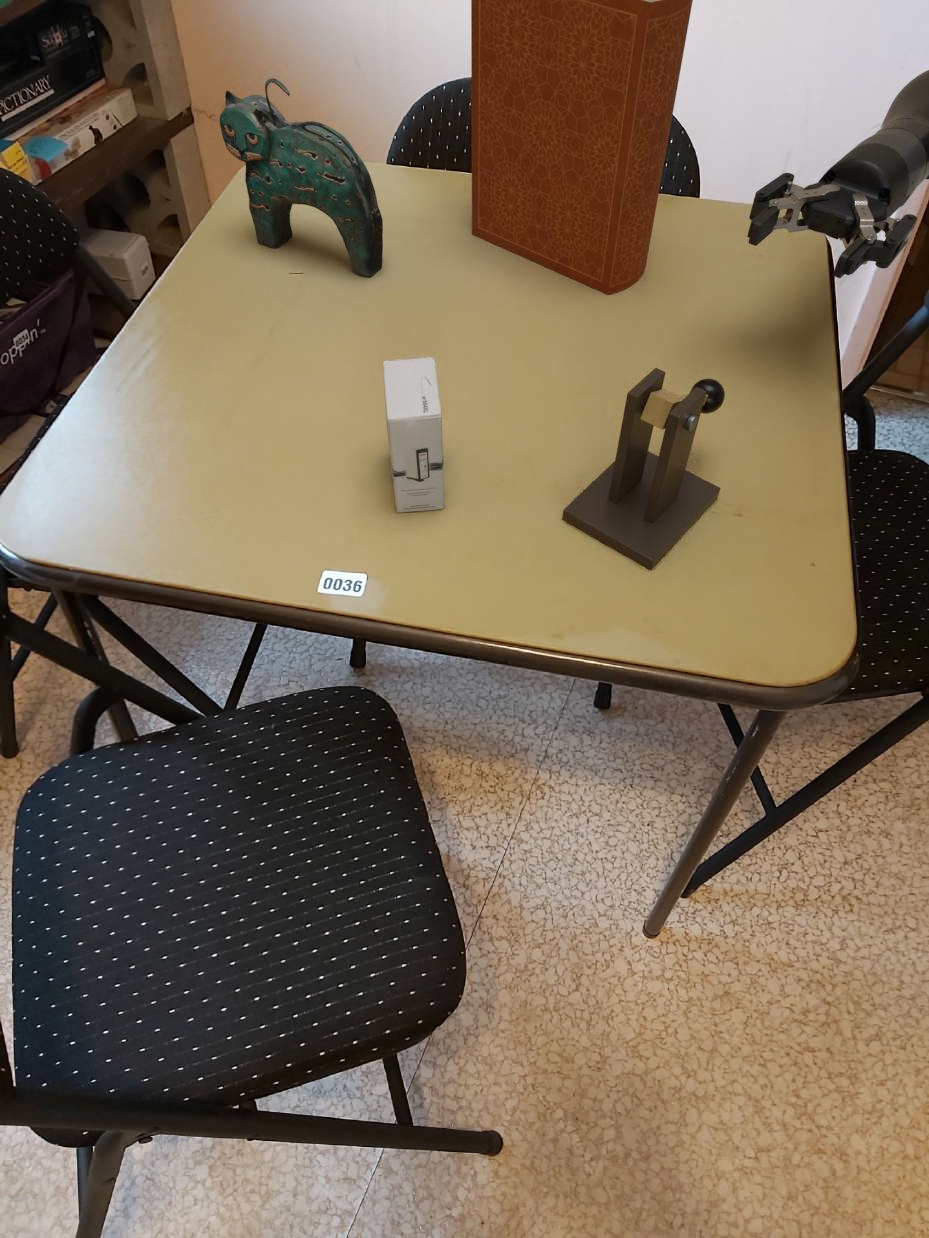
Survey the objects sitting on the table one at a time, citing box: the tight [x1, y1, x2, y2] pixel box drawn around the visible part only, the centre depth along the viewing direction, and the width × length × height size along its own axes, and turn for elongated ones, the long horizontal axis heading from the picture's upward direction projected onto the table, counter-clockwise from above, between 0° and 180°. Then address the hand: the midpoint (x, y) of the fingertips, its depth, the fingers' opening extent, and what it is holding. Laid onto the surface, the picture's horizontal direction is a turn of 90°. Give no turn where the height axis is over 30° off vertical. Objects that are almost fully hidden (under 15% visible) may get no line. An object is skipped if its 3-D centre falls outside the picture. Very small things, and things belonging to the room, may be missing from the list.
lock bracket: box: [561, 367, 721, 571], centre depth 75 cm, size 12×10×14 cm
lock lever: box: [640, 377, 726, 431], centre depth 75 cm, size 13×3×3 cm, turn 140°
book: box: [470, 0, 694, 296], centre depth 96 cm, size 23×8×30 cm, turn 49°
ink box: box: [382, 356, 446, 514], centre depth 78 cm, size 9×5×12 cm, turn 6°
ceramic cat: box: [219, 78, 384, 278], centre depth 100 cm, size 20×6×20 cm, turn 60°
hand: (795, 251), depth 77 cm, fingers open, 8 cm apart
